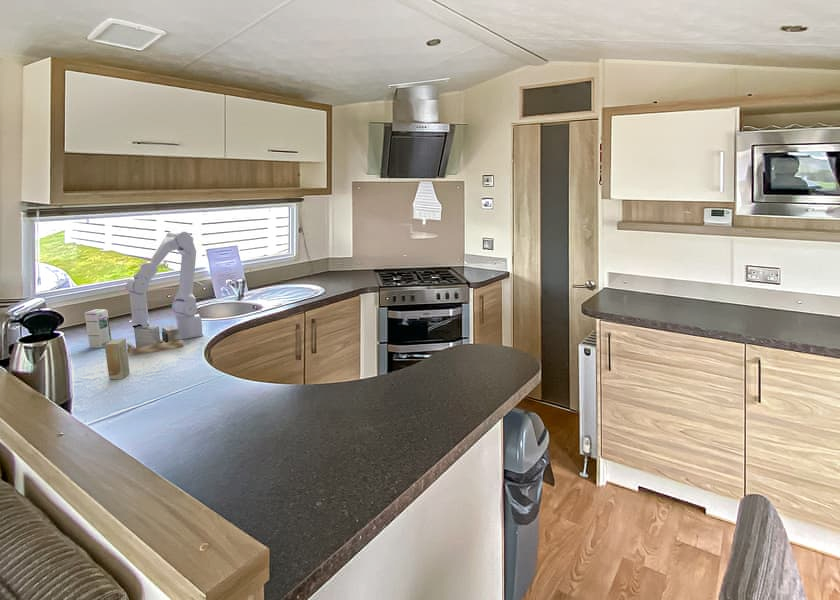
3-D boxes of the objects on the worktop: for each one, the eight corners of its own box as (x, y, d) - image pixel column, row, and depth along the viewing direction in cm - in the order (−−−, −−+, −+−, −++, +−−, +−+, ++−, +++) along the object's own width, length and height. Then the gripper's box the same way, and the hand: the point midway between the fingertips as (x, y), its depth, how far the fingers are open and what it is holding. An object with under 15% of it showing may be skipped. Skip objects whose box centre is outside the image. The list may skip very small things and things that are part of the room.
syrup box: (101, 348, 221) (97, 312, 218) (88, 347, 222) (84, 311, 219) (112, 344, 226) (108, 309, 223) (99, 343, 227) (95, 308, 225)
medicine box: (161, 347, 220) (159, 326, 219) (154, 350, 216) (152, 328, 214) (143, 346, 222) (140, 325, 220) (135, 349, 217) (133, 328, 215)
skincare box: (117, 374, 189) (112, 338, 186) (130, 373, 189) (126, 338, 187) (108, 380, 182) (103, 343, 180) (122, 379, 183) (117, 343, 180)
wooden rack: (176, 341, 230) (174, 324, 228) (183, 346, 222) (181, 329, 221) (124, 349, 218) (122, 332, 216) (131, 355, 210) (129, 337, 209)
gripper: (123, 307, 223) (127, 340, 225) (132, 313, 212) (136, 348, 214) (143, 305, 227) (146, 337, 230) (152, 310, 216) (155, 344, 218)
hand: (142, 342), depth 222 cm, fingers closed
